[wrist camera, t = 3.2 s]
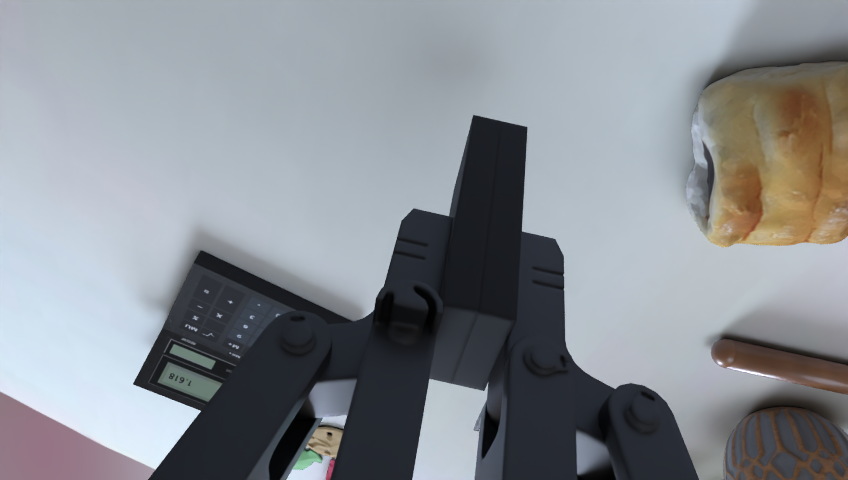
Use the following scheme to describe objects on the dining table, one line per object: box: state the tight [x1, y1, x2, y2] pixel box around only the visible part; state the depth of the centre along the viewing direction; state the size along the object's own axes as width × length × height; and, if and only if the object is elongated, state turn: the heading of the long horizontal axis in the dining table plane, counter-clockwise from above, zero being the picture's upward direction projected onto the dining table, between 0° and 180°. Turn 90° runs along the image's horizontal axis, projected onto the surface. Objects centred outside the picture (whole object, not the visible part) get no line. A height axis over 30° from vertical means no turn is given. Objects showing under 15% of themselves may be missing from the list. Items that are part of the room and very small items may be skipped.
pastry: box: [686, 61, 848, 247], centre depth 19 cm, size 9×7×4 cm
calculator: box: [133, 251, 351, 411], centre depth 34 cm, size 9×12×3 cm
